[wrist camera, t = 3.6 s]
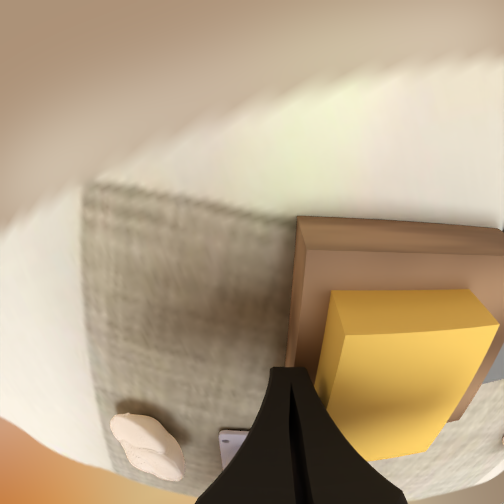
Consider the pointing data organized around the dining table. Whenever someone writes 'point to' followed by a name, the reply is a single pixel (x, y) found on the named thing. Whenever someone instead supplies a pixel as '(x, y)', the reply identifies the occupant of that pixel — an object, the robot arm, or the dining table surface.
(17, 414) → the dining table surface
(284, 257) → the dining table surface
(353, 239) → the brown cuboid
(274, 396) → the robot arm
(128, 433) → the dumpling
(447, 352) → the yellow cuboid
